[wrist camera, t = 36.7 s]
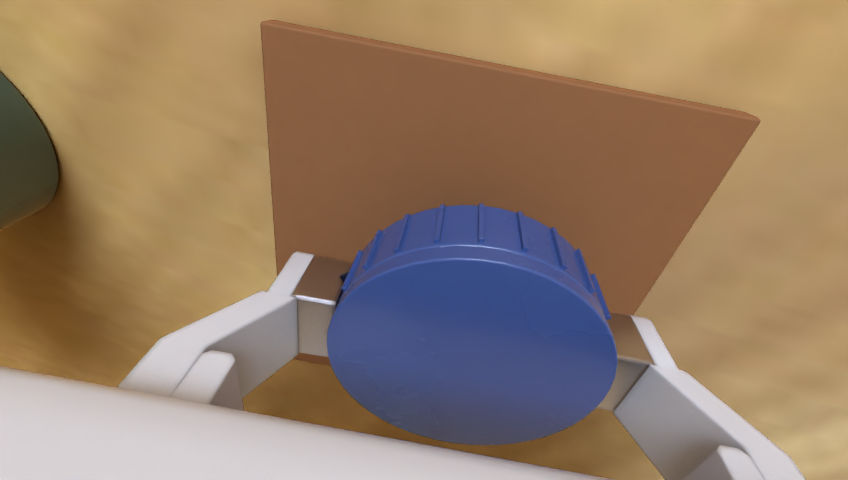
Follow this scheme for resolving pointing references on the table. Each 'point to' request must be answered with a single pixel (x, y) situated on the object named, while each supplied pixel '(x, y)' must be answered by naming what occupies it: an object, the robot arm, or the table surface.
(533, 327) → the lid
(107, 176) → the table surface
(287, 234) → the coaster
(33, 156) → the jar
